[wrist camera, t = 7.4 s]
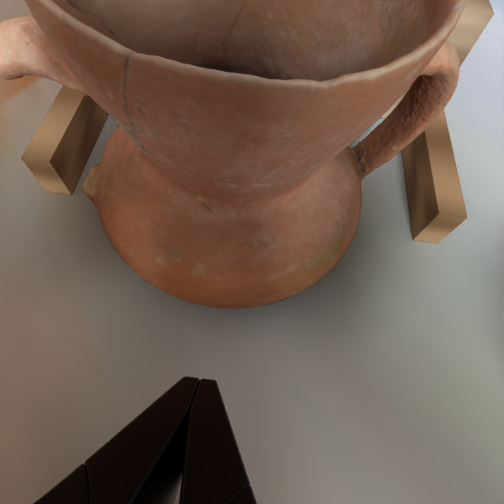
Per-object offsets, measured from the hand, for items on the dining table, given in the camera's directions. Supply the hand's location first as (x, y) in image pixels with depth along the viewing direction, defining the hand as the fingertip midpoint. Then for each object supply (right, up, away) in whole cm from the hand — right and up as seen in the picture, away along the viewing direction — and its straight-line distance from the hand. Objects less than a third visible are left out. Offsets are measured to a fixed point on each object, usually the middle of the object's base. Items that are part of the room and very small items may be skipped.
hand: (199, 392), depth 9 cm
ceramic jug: (+1, +6, +13) cm, 14 cm away
